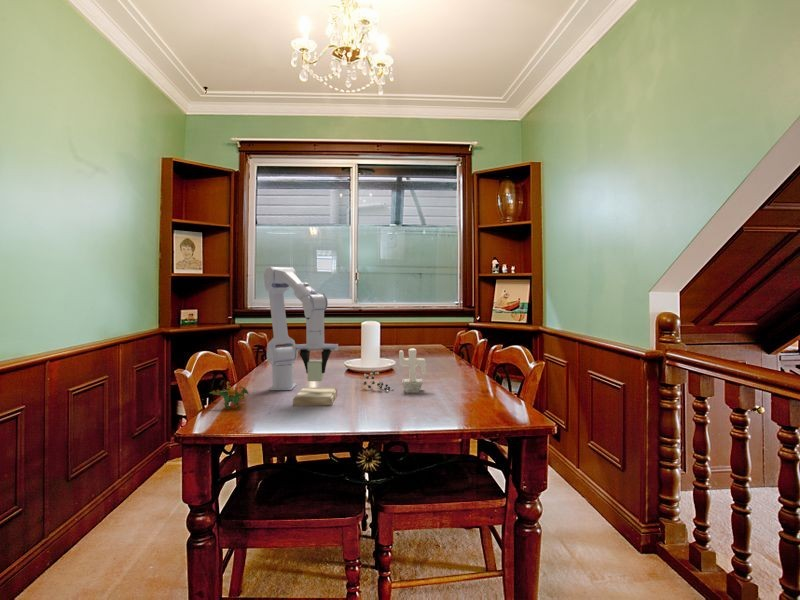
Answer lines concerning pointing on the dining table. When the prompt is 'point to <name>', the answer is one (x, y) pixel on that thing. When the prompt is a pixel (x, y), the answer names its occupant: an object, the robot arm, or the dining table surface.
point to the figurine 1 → (231, 395)
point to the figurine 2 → (412, 370)
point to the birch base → (315, 396)
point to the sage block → (315, 370)
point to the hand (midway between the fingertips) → (315, 372)
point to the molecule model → (375, 383)
